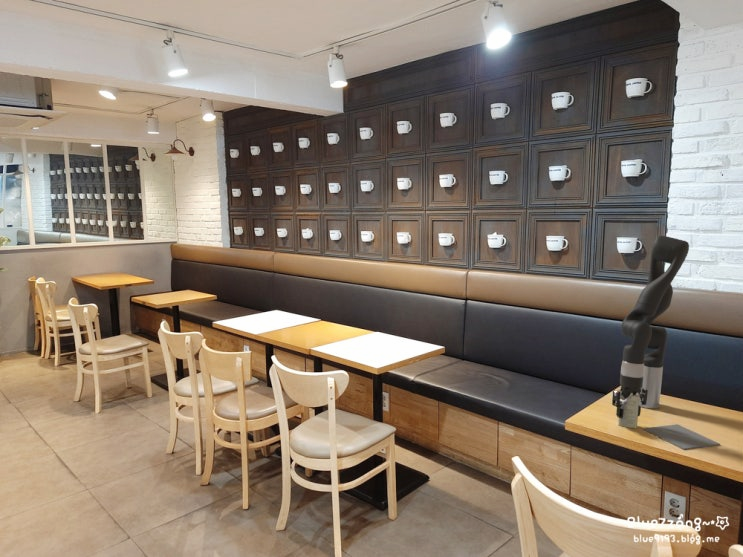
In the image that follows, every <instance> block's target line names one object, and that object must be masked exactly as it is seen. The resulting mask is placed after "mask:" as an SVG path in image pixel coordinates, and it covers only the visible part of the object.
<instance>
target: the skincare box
mask: <svg viewBox="0 0 743 557" xmlns="http://www.w3.org/2000/svg"><path fill="white" fill-rule="evenodd" d="M620 399H622V400H625V398H624V397H623V394H622V395H621V396H620ZM621 404H622V402H620V405H621ZM638 406H639V395H633V396H632V397H631V398H630V400H629V401H628V403H627V404H625V406H624V408H623V409H624V410H623V418H619V417H618V424H617V425H618V426H619V427H620V426H621V427H625V428H630V429H637V428H638V420H639V416H638Z"/></svg>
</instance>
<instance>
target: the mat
mask: <svg viewBox="0 0 743 557" xmlns="http://www.w3.org/2000/svg"><path fill="white" fill-rule="evenodd" d="M642 430H644V431H646V432H647V433H649V434H651V435H654V436H655V437H657V438H659V439H661V440H664V441H665V442H667V443H669V444H672V445H673V446H675V447H677V448H679V449H681V450H683V451H685V450H693V449H694V450H695V449H700V448H708V447H715V446H721V442H720V443H719V442H718V441H715V440H713V439H710V438H709V437H706V436H704V435H702V434H699V433H697V432H695V431H693V430H691V429H689V428H687V427H685V426H682V425H680V424H668V425H662V426H661V425H660V426H659V425H658V426H651V427H643V429H642Z"/></svg>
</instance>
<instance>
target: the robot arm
mask: <svg viewBox="0 0 743 557" xmlns="http://www.w3.org/2000/svg"><path fill="white" fill-rule="evenodd" d="M689 250H690V245H689V242H688V241H687V240H683V239H678V238H675V237H670V236H666V235H658V236H657V237H656V238H655V239H654V242H653V243H652V248H651V252H650V261H649V271H648V272H649V273H648V279H647V283H646V285H645V287H644V288H643V289H642V290H641V292H640V294H639V296H638V298H637V300H636V303H635V305H634V307H633V308H632V309H631V310H630V311H629V313H628V314H627V315H626V316H625V318H623V320H622V322H621V326H620V330H621V334H622V335H623V336H625V337H626V338H629V339H633V340H632V343H631V344H627V345H625V346H624V347H623V351H622V352H623V354H622V362H621V364H620V365H621V367H620V377H619V384H620V388H619V390H616V389H613V390H612V400H611V402H612V403H611V404H612V405H611V406H614V407H616V413H615V414H616V417H617V418H618V419H619V418H623V410H624V409H623V408H624V406H625V404H627V403H628V401H629V400H630V398H631V397H632V396H633V395H639V406H638V417H640V415H641V412H642V408H645V409H653V410H654V409H658V408H660V402H661V401H660V400H661V389H662V381H663V372H664V371H663V370H664V361H665V352H666V346H667V340H668V331H667V329H666V328H665V327H663V326H653V325H651V324H652V323H653V322H654V321H655V320H656V319H657V318H658V317H660V316H661V315H662V314H664V313H665V312H666V311H667V310H668V309H669V308H670V306H671V303H672V300H673V295H674V294H673V293H674V289H673V285H672V282H673V280H674V279H675V277H676V275H677V274H678V273H679V271H680V269H681V268H682V266H683V264H684V262H685V261H686V258H687V256H688V254H689ZM663 263H666V264H669V266H668V268H667V269H666V270H665V269H664V264H663ZM647 349H650V350H651V349H653V351H651V352H649V353H646V351H647ZM622 394H623V397H624V398H625V400H622V399H620V396H621V395H622ZM620 402H622V404H621V405H620Z"/></svg>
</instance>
